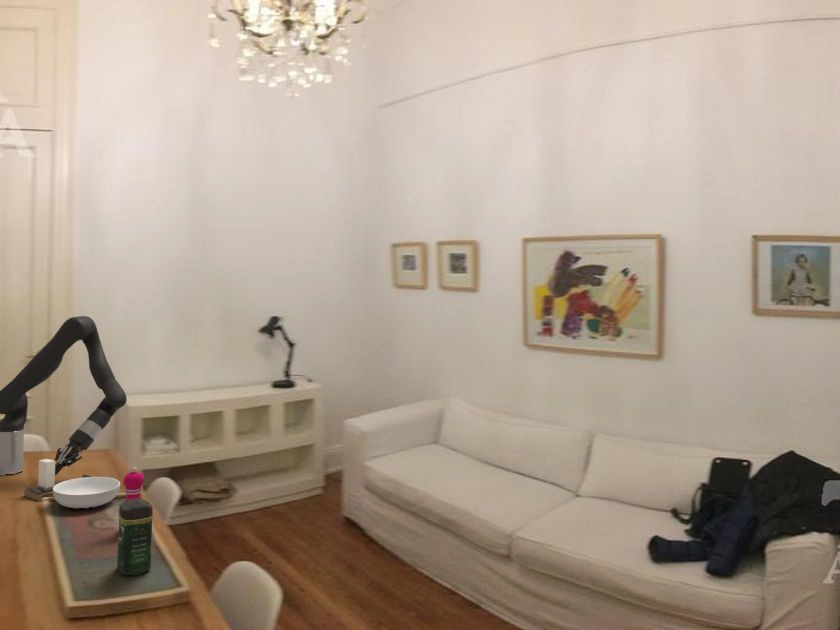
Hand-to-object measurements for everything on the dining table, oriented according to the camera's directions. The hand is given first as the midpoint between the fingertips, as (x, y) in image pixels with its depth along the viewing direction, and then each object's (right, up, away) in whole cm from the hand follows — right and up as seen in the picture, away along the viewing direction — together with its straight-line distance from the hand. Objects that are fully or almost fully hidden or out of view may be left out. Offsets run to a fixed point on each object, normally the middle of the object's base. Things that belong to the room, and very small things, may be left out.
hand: (52, 473), depth 230 cm
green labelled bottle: (+56, -11, -59) cm, 82 cm away
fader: (-1, -5, -2) cm, 5 cm away
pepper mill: (+43, -10, -32) cm, 55 cm away
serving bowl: (+17, -9, -9) cm, 21 cm away
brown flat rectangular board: (+2, -7, +3) cm, 8 cm away
